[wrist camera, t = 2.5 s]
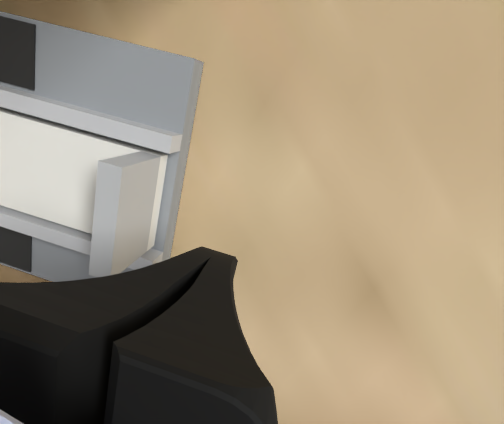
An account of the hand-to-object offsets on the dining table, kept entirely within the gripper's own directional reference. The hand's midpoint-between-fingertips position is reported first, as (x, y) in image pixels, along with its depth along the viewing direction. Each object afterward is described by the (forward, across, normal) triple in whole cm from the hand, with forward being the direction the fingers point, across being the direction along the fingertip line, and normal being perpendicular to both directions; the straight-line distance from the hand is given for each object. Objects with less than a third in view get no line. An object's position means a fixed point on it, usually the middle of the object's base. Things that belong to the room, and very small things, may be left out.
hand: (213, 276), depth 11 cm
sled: (+5, +15, 0) cm, 16 cm away
